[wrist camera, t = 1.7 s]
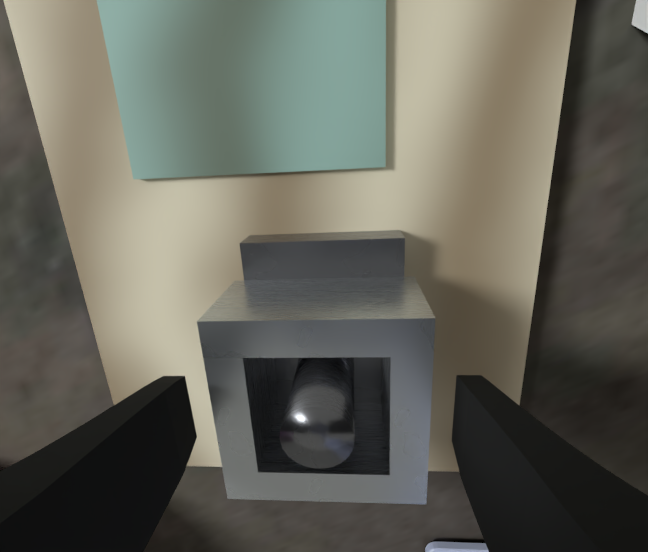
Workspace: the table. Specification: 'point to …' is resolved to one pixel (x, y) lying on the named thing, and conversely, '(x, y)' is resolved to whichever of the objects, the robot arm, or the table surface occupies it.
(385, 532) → the table surface
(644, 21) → the marker
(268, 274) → the peg base
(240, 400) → the square hollow frame
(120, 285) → the board
